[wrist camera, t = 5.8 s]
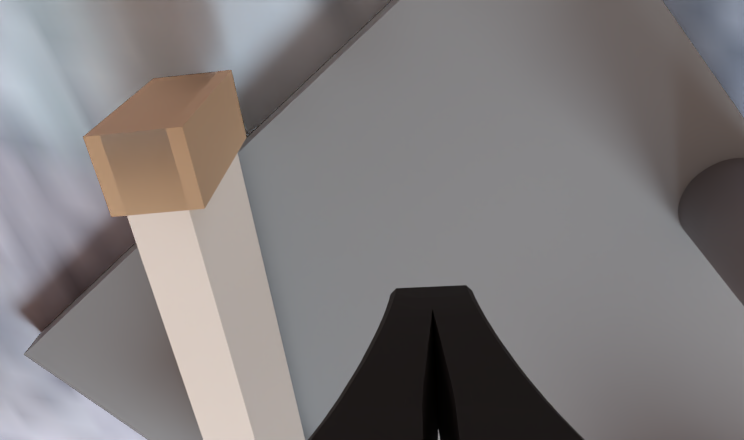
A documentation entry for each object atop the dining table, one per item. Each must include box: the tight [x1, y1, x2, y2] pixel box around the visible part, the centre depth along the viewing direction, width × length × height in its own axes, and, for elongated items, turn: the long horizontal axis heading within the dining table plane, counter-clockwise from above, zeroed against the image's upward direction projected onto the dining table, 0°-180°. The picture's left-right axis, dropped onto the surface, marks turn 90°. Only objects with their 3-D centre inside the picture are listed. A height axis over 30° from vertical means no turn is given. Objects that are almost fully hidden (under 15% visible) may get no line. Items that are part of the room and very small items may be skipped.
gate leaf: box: [83, 70, 305, 440], centre depth 15 cm, size 12×2×4 cm, turn 7°
